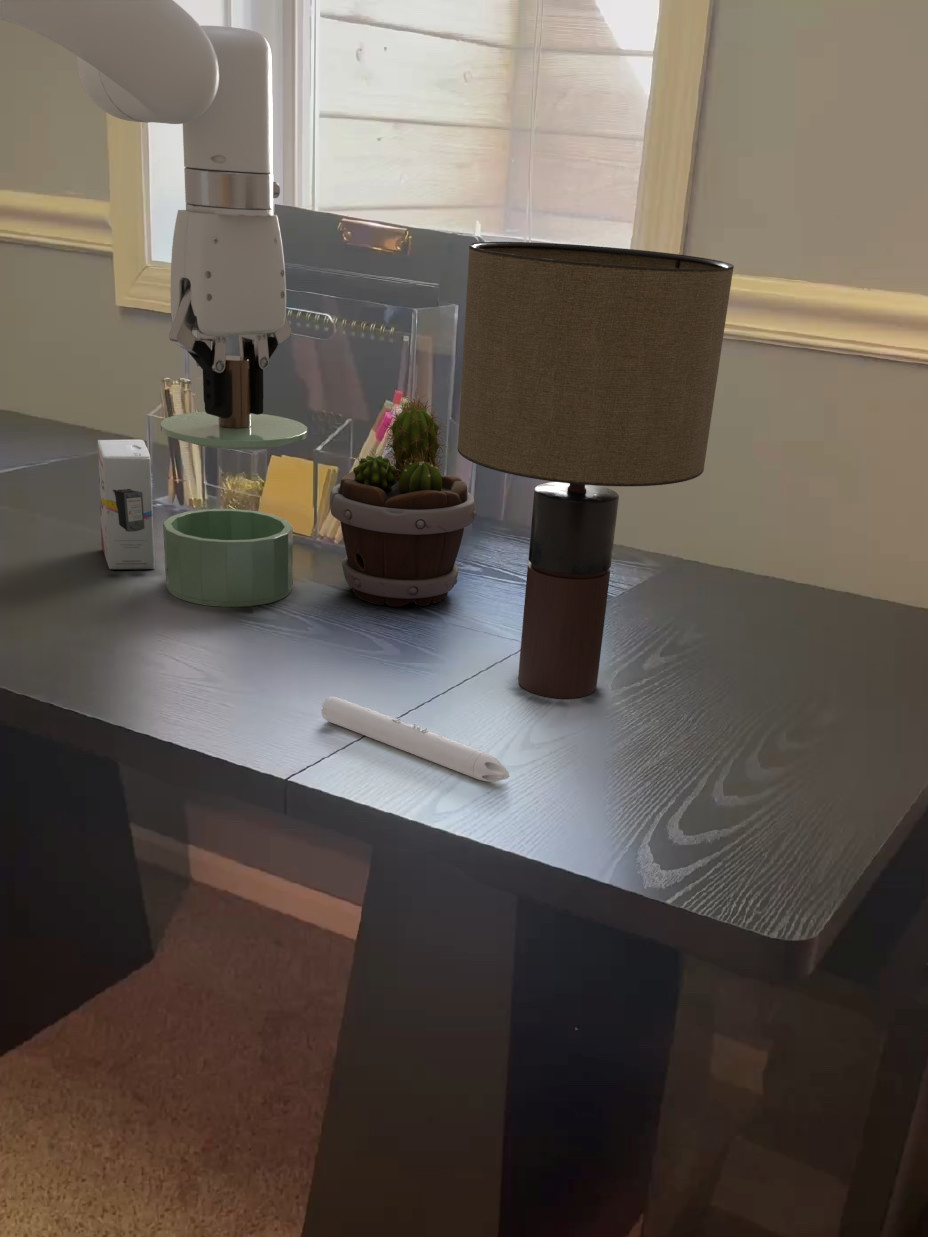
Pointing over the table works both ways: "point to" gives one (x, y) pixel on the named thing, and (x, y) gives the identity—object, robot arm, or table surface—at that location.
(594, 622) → the lamp
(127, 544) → the ink box
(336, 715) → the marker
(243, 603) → the green round container
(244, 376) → the lid
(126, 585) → the table surface
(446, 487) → the flowerpot
